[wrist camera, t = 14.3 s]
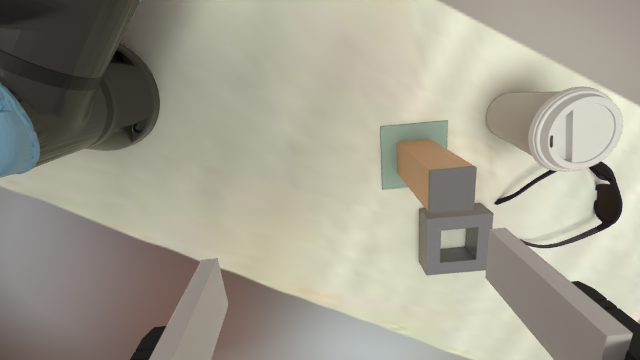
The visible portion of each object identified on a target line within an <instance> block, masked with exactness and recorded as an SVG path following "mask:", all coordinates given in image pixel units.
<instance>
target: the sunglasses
mask: <svg viewBox="0 0 640 360" xmlns="http://www.w3.org/2000/svg"><path fill="white" fill-rule="evenodd" d="M589 168H590V169H591V170H592V171H593V172H594V173H595V175H596V176H597V177H598V178H599V179H601V180H605V181H608V182H609V183H610V184H598V185H597V187H596V189H595V190H597V200H595V202H594V209H595V214H596V216H597V217H598V219H600V220H601V221H602V224H600V225H598V226H597V227H595V228H593V229H590V230H588V231H586V232H584V233H582V234H580V235H577V236H575V237H572V238H570V239H567V240H565V241H562V242H559V243H555V244H550V245H536V244H532V243H529V242H525V241H522V240H521V241H522V242H523V243H524V244H526V245H528V246H532V247H537V248H553V247H558V246H562V245H565V244H569V243H572V242H575V241H578V240H580V239H583V238H586V237H588V236H590V235H593V234H595V233H598V232H600V231H602V230H604V229H606V228H608V227H610V226H611V225H612V224H614V223H616V221H617V220H618V219H619V217H620V215H621V212H622V198H621V195H620V191H619V188H618V186H617V183H616V178H615V176H614V173H613V171H612V170H611V169H610V168H609V167H608V166H607V165H606V164H604V163H603V162H601V161H600V162H599V163H597V164H595V165H593V166H591V167H589ZM555 172H557V171H553V170H549V171H547V172H546V173H544V174H542V175H541V176H539V177H537V178H536V179H534V180H533V181H531V182H530V183H528V184H527V185H526V186H524V187H523V188H521V189H520V190H519V191H517V192H516V193H514V194H512V195H510V196H507V197H504V198H500V199H498V200H497V201H496V202H495V204H496V205H498V204H501V203H504V202H506V201H509V200H511V199H513V198H514V197H516V196H518V195H519V194H521V193H522V192H524V191H525V190H527V189H528V188H530V187H531V186H532V185H534V184H535V183H537V182H538V181H540V180H542V179H544V178H546V177H547V176H549V175H551V174H553V173H555Z"/></svg>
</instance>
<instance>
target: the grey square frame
mask: <svg viewBox="0 0 640 360" xmlns="http://www.w3.org/2000/svg"><path fill="white" fill-rule="evenodd" d="M492 224H493V213H492V212H491V211H490V210H489V209H487V208H486V207H485V206H484V205H482V204H481V203H477V204H474V210H463V211H452V212H441V213H429V212H428V211H427V210H426V208H421V209H419V263H420V264H421V266H422V268H423V270H424V272H425V274H426V275H436V274H447V273H459V272H470V271H481V270H486V265H487V253H488V241H489V229H492ZM462 228H466V243H465V247H458V248H447V249H440V245H441V230H451V229H462Z"/></svg>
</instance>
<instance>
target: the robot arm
mask: <svg viewBox="0 0 640 360" xmlns="http://www.w3.org/2000/svg"><path fill="white" fill-rule="evenodd" d="M141 1H142V0H0V178H1V177H4V176H8V175H12V174H22V173H25V172H27V171H29V170H30V169H32V168H34V167H36V166H39V165H42V164H44V163H47V162H50V161H52V160H55V159H58V158H60V157H63V156H66V155H68V154H71V153H74V152H76V151H79V150H82V149H84V148H85V149H94V150H103V151H109V150H118V149H122V148H125V147H128V146H130V145H132V144H135V143H137V142H139V141H140V140H142V139H143V138H144V137H146V136H147V135H148V134H149V132H150V131H151V130H152V128H153V127H154V125H155V123H156V120H157V117H158V113H159V94H158V89H157V86H156V83H155V80H154V78H153V76H152V74H151V73H150V71H149V69H148V68H147V66H146V65H145V64H144V63H143V61H142V60H141V59H140V58H139V57H138V56H137V55H135V54H134V53H133V52H132V51H130V50H129V49H128V48H126V47H124V46H123V45H121V44H119V43H120V41H121V39H122V37H123V34H124V32H125V30H126V28H127V26H128V24H129V22H130V20H131V18H132V15H133V13H134V11H135V9H136V7H137V5H138V4H140V3H141ZM485 278H486V279H487V280H488V281H489V282H490V284H491V285H492V286H493V287H494V288H495V290H496V291H497V292H498V293H499V294H500V296H501V297H502V298H503V299H504V300H505V302H506V303H507V304H508V305H509V306H510V307H511V309H512V310H513V311H514V312H515V313H516V315H517V316H518V317H519V318H520V319H521V321H522V322H523V323H524V324H525V325H526V327H527V328H528V329H529V330H530V331H531V333H532V334H533V335H534V336H535V337H536V339H537V340H538V341H539V342H540V343H541V345H542V346H543V347H544V348H545V349H546V351H547V352H548V353H549V354H550V355H551V357H552V358H553V359H554V360H640V324H639V323H637V322H636V321H635V320H633V319H632V318H631V317H630V316H628V315H627V314H626V313H624V312H623V311H622V310H621V309H618V308H617V306H616V305H614V304H613V303H612V302H610V301H609V300H608V301H607V298H605V297H604V296H603V295H602V294H600V293H599V292H598V291H596V290H595V289H594V288H592V287H590V286H588V285H586V284H583V283H581V282H579V281H574V282H570V281H569V280H568V279H567V278H565V277H564V276H563V275H562V274H561V273H559V272H558V271H557V270H556V269H555V268H553V267H552V266H551V265H550V264H548V263H547V262H546V261H545V260H544V259H542V258H541V257H540V256H539V255H538V254H536V253H535V252H534V251H533V250H532V249H530V248H529V247H528V246H527V245H526V244H524V243H523V242H522V241H521V240H519V239H518V238H517V237H516V236H515V235H513V234H512V233H511V232H510V231H509V230H507V229H506V228H498V229H489V241H488V253H487V265H486V277H485ZM227 308H228V301H227V298H226V293H225V289H224V284H223V280H222V276H221V272H220V267H219V263H218V258H216V259H206V260H201V262H200V264H199V266H198V268H197V270H196V271H195V274H194V275H193V277H192V279H191V281H190V283H189V285H188V287H187V289H186V290H185V292H184V294H183V296H182V298H181V300H180V302H179V304H178V306H177V308H176V309H175V311H174V313H173V315H172V317H171V319H170V321H169V323H168V325H167V326H162V327H154V328H153V329H152V330H151V331H150V332H149V333H148V334H147V335H146V336H145V337H144V338H143V339H142V340H141V342H140V344H139V345H138V347H137V349H136V352H134V354H133V356H132V357H131V359H130V360H211V358H212V355H213V352H214V348H215V345H216V342H217V339H218V336H219V333H220V330H221V327H222V323H223V320H224V317H225V314H226V311H227Z"/></svg>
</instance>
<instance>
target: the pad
mask: <svg viewBox="0 0 640 360" xmlns="http://www.w3.org/2000/svg"><path fill="white" fill-rule="evenodd" d="M380 129H381V165H382V190H384V189H395V188H406V187H408V186H407V185H406V183H405V182H404V181H403V180H402V178H401V177H400V176H399V175H398V173H397V142H403V141H414V140H425V139H431V140H432V141H434V142H436V143H437V144H439V145H441V146H442V147H444V148H446V149H447V132H448V121H436V122H425V123H414V124H403V125H392V126H381V127H380Z"/></svg>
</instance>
